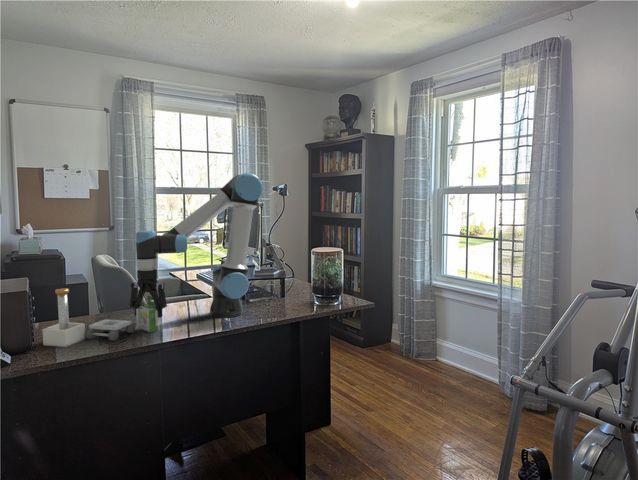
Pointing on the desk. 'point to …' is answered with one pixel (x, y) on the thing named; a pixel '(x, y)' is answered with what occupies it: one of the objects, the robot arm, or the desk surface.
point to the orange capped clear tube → (63, 308)
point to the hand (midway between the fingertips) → (148, 324)
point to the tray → (63, 335)
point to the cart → (109, 328)
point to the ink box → (148, 316)
